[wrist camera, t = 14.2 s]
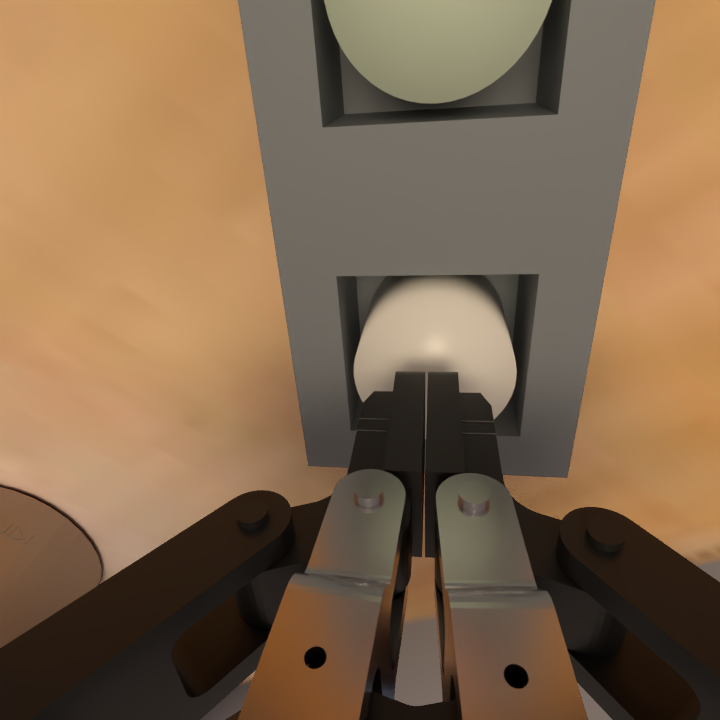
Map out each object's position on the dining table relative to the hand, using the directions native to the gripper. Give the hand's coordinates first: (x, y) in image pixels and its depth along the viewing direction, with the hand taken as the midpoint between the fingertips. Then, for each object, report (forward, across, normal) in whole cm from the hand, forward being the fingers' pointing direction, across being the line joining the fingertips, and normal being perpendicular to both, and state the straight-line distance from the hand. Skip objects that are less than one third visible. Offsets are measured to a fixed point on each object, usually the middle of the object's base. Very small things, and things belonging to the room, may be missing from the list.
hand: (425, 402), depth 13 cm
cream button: (+4, 0, 0) cm, 4 cm away
